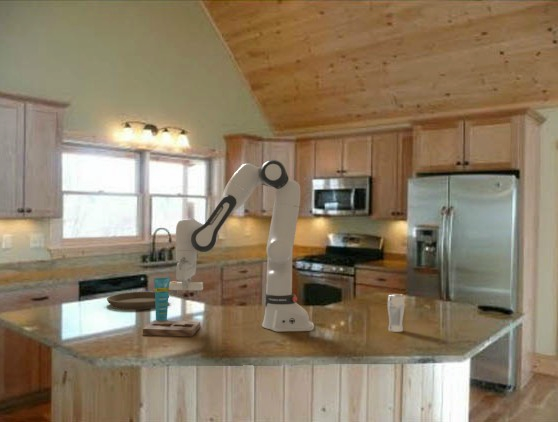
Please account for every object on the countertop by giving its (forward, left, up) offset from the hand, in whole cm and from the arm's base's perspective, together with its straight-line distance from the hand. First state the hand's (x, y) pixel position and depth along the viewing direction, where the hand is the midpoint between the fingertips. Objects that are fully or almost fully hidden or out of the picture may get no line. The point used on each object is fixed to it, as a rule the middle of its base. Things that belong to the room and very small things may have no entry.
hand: (186, 288), depth 204 cm
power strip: (0, 0, -3) cm, 3 cm away
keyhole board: (+3, +9, -16) cm, 19 cm away
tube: (+13, -9, -16) cm, 23 cm away
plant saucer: (+35, -41, -17) cm, 56 cm away
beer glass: (-90, -3, -16) cm, 91 cm away
